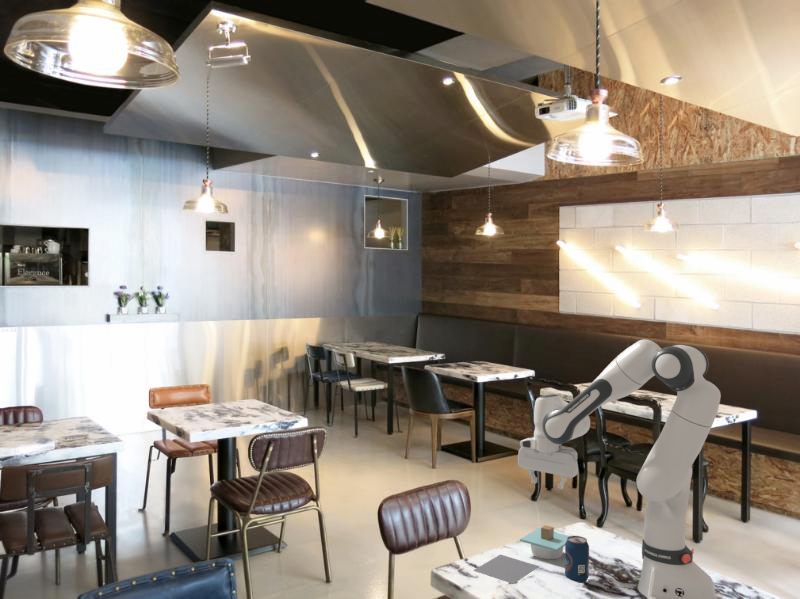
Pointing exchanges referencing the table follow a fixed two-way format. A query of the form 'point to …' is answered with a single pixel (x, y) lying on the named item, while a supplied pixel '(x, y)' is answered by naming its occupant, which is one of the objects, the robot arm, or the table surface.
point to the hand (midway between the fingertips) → (547, 485)
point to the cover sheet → (545, 543)
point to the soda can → (577, 558)
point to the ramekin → (546, 552)
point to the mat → (506, 568)
